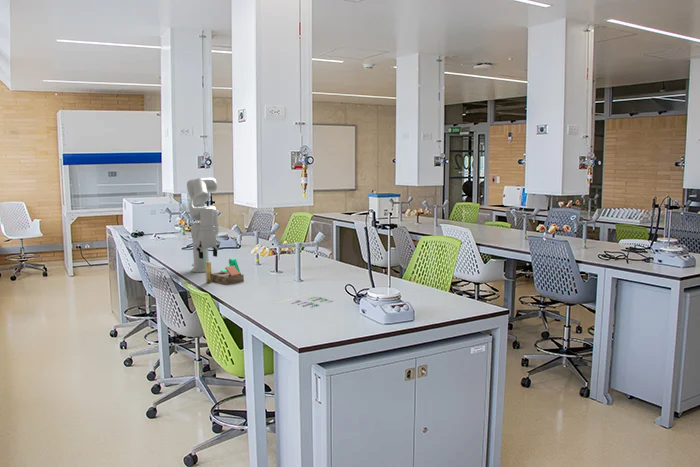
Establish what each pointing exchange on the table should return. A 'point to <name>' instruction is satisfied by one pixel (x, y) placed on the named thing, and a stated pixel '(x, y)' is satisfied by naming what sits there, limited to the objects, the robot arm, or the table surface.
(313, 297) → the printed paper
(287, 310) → the table surface
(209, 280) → the brass pin
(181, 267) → the table surface
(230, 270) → the orange flat plate
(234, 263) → the camera mount
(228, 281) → the hitch block
